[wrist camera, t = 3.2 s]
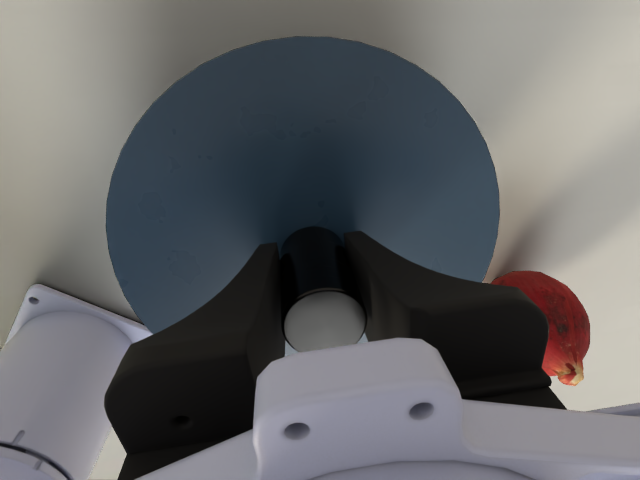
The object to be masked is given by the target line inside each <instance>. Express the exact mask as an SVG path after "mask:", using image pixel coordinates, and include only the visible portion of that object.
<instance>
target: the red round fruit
mask: <svg viewBox="0 0 640 480" xmlns="http://www.w3.org/2000/svg"><path fill="white" fill-rule="evenodd" d="M490 284H495V285H504V286H513V287H518V288H519V289H520V290H521V291H523V292H524V293H525V294H526V295H527V296H528V297H529V298H530V299H531V300H532V301H533V302H534V303H535V304H536V305H537V306H538V307H539V308H540V309H541V310H542V312H543V313H544V314H545V315H546V317H547V320H548V323H549V338H548V342H547V347H546V351H545V355H544V360H543V364H542V368H543V370H544V371H545V372H546V373H547V374H548V376H556V375H557V376H558V379H559V381H560V382H562V383H563V384H567V385H573V386H576V385H577V384H578V383H579V382H580V381H581V380H583V379H584V376H583V362H582V360H583V358H584V356H585V355H586V353H587V351H588V349H589V345H590V323H589V319H588V315H587V313H586V311H585V309H584V307H583V305H582V304H581V302H580V301H579V299H578V298H577V297H576V295H575V294H574V293H573V292H572V291H571V290H570V289H569V288H568V286H566V285H564V284H563V283H561V282H559V281H558V280H556V279H554V278H552V277H550V276H548V275H545V274H543V273H541V272H535V271H513V272H510V273H508V274H506V275H503V276H501V277H499V278H497V279H495V280H494V281H493V282H492V283H490Z"/></svg>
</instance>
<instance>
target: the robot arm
mask: <svg viewBox="0 0 640 480" xmlns="http://www.w3.org/2000/svg"><path fill="white" fill-rule="evenodd" d="M344 241H345V251H346V253H347V256H348V259H349V262H350V265H351V268H352V270H353V273H354V276H355V279H356V282H357V285H358V288H359V291H360V293H361V296H362V299H363V302H364V305H365V308H366V311H367V317H368V320H367V326H366V330H365V335H366V338H367V340H368V342H366V343H359V344H353V345H346V346H340V347H333V348H326V349H320V350H313V351H307V352H300V353H294V354H291V355H289V356H286V357H285V341H286V340H285V338H284V336H283V333H282V329H281V288H280V257H279V251H278V246H277V242H274V243H267V244H260V245H259V246H258V247H257V249H256V250H255V251H254V253H253V254H252V256H251V257H250V258H249V260H248V261H247V262H246V264H245V265H244V266H243V267H242V269H241V270H240V271H239V273H238V274H237V275H236V276H235V277H234V278H233V279H232V280H231V281H230V283H229V284H228V285H227V286H226V287H225V288H224V289H222V290H221V291H220V292H219V293H218V294H217V295H216V296H214V297H213V298H212V299H211V300H210V301H208V302H207V303H206V304H204V305H203V306H201V307H200V308H199V309H197V310H196V311H194V312H193V313H191V314H190V315H188V316H187V317H185V318H183V319H182V320H180V321H178V322H177V323H175V324H173V325H171V326H169V327H168V328H166V329H164V330H162V331H160V332H157V333H155V334H152V333H151V332H150V331H149V330H148V328H147V327H146V326H145V325H142V324H140V323H137V322H135V321H132V320H130V319H127V318H125V317H122V316H120V315H117V314H115V313H112V312H110V311H107V310H104V309H102V308H99V307H97V306H94V305H92V304H89V303H87V302H84V301H82V300H79V299H77V298H74V297H72V296H69V295H67V294H64V293H62V292H59V291H57V290H54V289H52V288H49V287H47V286H44V285H41V284H34V285H32V286H31V287H30V288H29V289H28V290H27V293H26V295H25V297H24V300H23V302H22V304H21V307H20V309H19V312H18V314H17V316H16V319H15V321H14V323H13V326H12V328H11V330H10V333H9V335H8V337H7V340H6V342H5V344H4V347H3V348H2V349H1V350H0V480H89V477H90V475H91V473H92V470H93V468H94V466H95V464H96V461H97V459H98V457H99V455H100V452H101V450H102V448H103V446H104V443H105V441H106V439H107V436H108V434H109V432H110V430H111V427H113V429H114V431H115V432H116V434H117V436H118V438H119V440H120V442H121V444H122V445H123V447H124V449H125V451H126V453H127V455H126V458H125V461H124V464H123V466H122V469H121V472H120V474H119V477H118V480H640V403H634V404H628V405H622V406H616V407H610V408H604V409H598V410H592V411H586V412H583V411H573V410H567V409H566V408H565V406H564V405H563V404H562V403H561V401H560V400H559V399H558V398H557V396H556V395H555V394H554V393H553V391H552V390H551V389H550V388H549V387H548V386H551V383H552V382H551V378H550V377H549V376H548V374H547V373H546V372H545V371H544V370H543V368H542V364H543V360H544V355H545V351H546V347H547V342H548V338H549V323H548V320H547V317H546V315H545V314H544V313H543V312H542V310H541V309H540V308H539V307H538V306H537V305H536V304H535V303H534V302H533V301H532V300H531V299H530V298H529V297H528V296H527V295H526V294H525V293H524V292H523V291H521V290H520V289H519V288H518V287H513V286H504V285H495V284H486V283H480V282H475V281H470V280H465V279H461V278H457V277H453V276H449V275H446V274H443V273H439V272H436V271H433V270H430V269H428V268H425V267H423V266H421V265H418V264H416V263H413V262H411V261H409V260H407V259H405V258H403V257H402V256H400V255H398V254H396V253H394V252H393V251H391V250H389V249H388V248H386V247H385V246H383V245H381V244H380V243H378V242H377V241H375V240H374V239H373V238H371V237H370V236H368V235H367V234H365V233H364V232H362V231H354V232H347V233H344ZM33 297H35V298H37V299H38V300H35V299H34V298H33Z"/></svg>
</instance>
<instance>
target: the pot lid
mask: <svg viewBox="0 0 640 480" xmlns="http://www.w3.org/2000/svg"><path fill="white" fill-rule="evenodd" d="M499 216H500V208H499V189H498V183H497V178H496V173H495V167H494V164H493V161H492V159H491V156H490V153H489V150H488V147H487V144H486V142H485V140H484V138H483V137H482V135H481V133H480V131H479V129H478V127H477V125H476V123H475V121H474V120H473V119H472V117H471V116H470V115H469V113H468V112H467V111H466V109H465V108H464V107H463V105H462V104H461V103H460V101H459V100H458V99H457V98H456V97H455V96H454V95H453V94H452V93H451V92H450V91H449V90H448V89H447V88H446V87H445V86H443V85H442V84H441V83H440V82H439V81H438V80H437V79H435V78H434V77H432V76H431V75H430V74H428V73H427V72H425V71H424V70H423V69H421V68H420V67H418V66H417V65H415V64H413V63H411V62H409V61H407V60H405V59H404V58H402V57H400V56H398V55H396V54H394V53H392V52H390V51H387V50H384V49H380V48H377V47H374V46H371V45H368V44H365V43H362V42H358V41H352V40H346V39H339V38H333V37H313V36H294V37H287V38H280V39H273V40H265V41H261V42H258V43H254V44H251V45H247V46H244V47H241V48H237V49H234V50H231V51H229V52H227V53H225V54H222V55H220V56H218V57H216V58H214V59H212V60H210V61H207V62H205V63H203V64H202V65H200V66H199V67H197V68H196V69H194V70H193V71H191V72H190V73H188V74H187V75H185V76H184V77H182V78H181V79H179V80H178V81H176V82H175V83H174V84H173V85H172V86H171V87H170V88H169V89H167V90H166V91H165V92H164V93H163V94H162V95H161V96H160V97H159V98H158V99H157V100H155V101H154V102H153V104H152V105H151V106H150V107H149V109H148V110H147V111H146V112H145V114H144V115H143V116H142V117H141V119H140V120H139V121H138V122H137V124H136V125H135V127H134V128H133V130H132V132H131V134H130V135H129V137H128V139H127V141H126V143H125V144H124V146H123V148H122V150H121V152H120V155H119V158H118V160H117V163H116V166H115V168H114V171H113V174H112V177H111V182H110V187H109V192H108V198H107V207H106V233H107V241H108V249H109V254H110V258H111V262H112V265H113V269H114V272H115V276H116V278H117V280H118V282H119V285H120V287H121V289H122V291H123V293H124V296H125V297H126V299H127V301H128V302H129V304H130V305H131V307H132V309H133V310H134V312H135V313H136V315H137V316H138V317H139V319H140V320H141V321H142V322H143V324H144V325H145V326H146V327H147V328H148V330H149V331H150V332H151V333H152V334H155V333H157V332H160V331H162V330H164V329H166V328H168V327H169V326H171V325H173V324H175V323H177V322H178V321H180V320H182V319H183V318H185V317H187V316H188V315H190V314H191V313H193V312H194V311H196V310H197V309H199V308H200V307H201V306H203V305H204V304H206V303H207V302H208V301H210V300H211V299H212V298H213V297H214V296H216V295H217V294H218V293H219V292H220V291H221V290H222V289H224V288H225V287H226V286H227V285H228V284H229V283H230V281H231V280H232V279H233V278H234V277H235V276H236V275H237V274H238V273H239V271H240V270H241V269H242V267H243V266H244V265H245V264H246V262H247V261H248V260H249V258H250V257H251V256H252V254H253V253H254V251H255V250H256V249H257V247H258V246H259V245H260V244H267V243H274V242H277V246H278V251H279V257H280V288H281V329H282V333H283V336H284V338H285V340H286V341H285V357H286V356H289V355H291V354H294V353H300V352H307V351H313V350H320V349H326V348H333V347H340V346H346V345H353V344H359V343H366V342H368V340H367V338H366V335H365V330H366V326H367V320H368V317H367V311H366V308H365V305H364V302H363V299H362V296H361V293H360V291H359V288H358V285H357V282H356V279H355V276H354V273H353V270H352V268H351V265H350V262H349V259H348V256H347V253H346V251H345V241H344V233H347V232H354V231H362V232H364V233H365V234H367V235H368V236H370V237H371V238H373V239H374V240H375V241H377V242H378V243H380V244H381V245H383V246H385V247H386V248H388V249H389V250H391V251H393V252H394V253H396V254H398V255H400V256H402V257H403V258H405V259H407V260H409V261H411V262H413V263H416V264H418V265H421V266H423V267H425V268H428V269H430V270H433V271H436V272H439V273H443V274H446V275H449V276H453V277H457V278H461V279H465V280H470V281H475V282H480V283H482V281H483V279H484V277H485V275H486V272H487V269H488V267H489V264H490V262H491V259H492V256H493V252H494V248H495V244H496V240H497V235H498V225H499Z"/></svg>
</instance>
